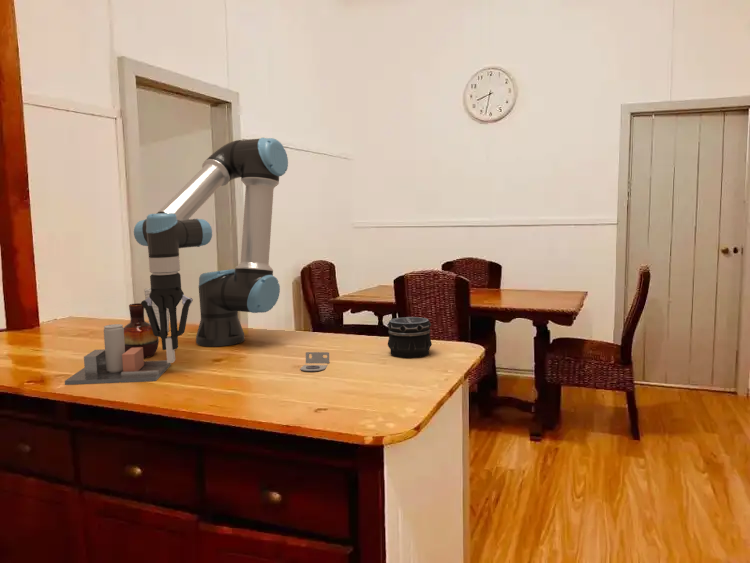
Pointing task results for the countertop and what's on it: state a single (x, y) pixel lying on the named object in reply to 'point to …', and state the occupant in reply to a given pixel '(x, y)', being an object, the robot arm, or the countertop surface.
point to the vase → (140, 332)
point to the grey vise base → (99, 374)
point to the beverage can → (114, 347)
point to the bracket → (316, 361)
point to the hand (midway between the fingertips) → (171, 361)
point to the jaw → (133, 359)
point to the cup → (156, 308)
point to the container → (409, 337)
